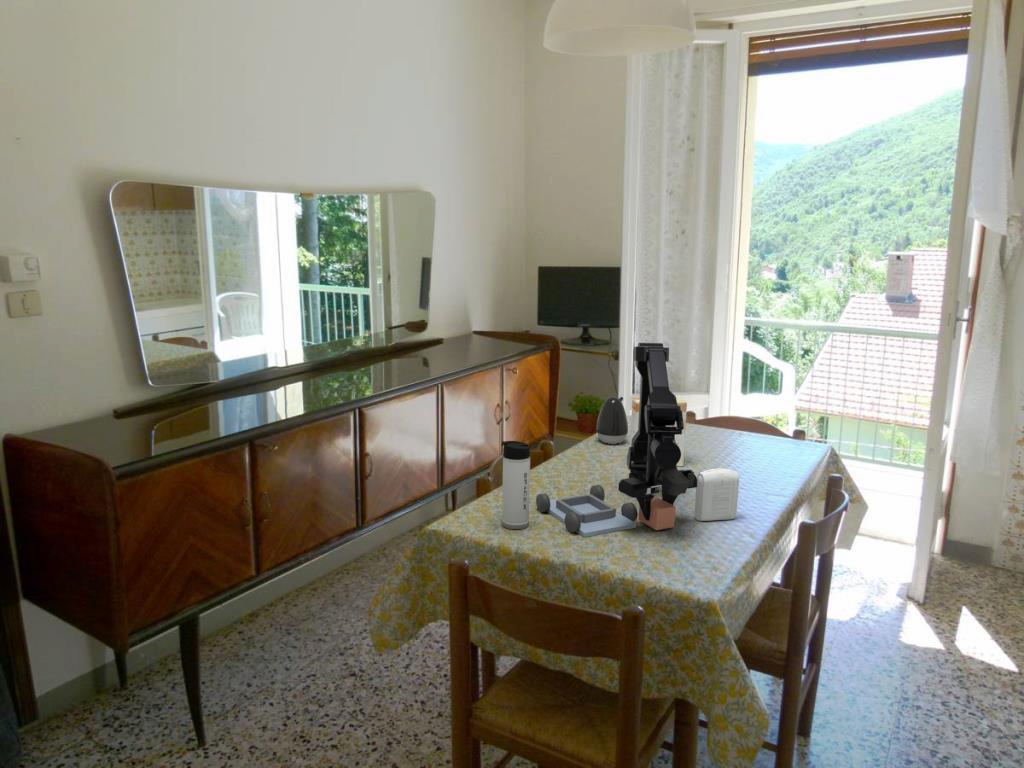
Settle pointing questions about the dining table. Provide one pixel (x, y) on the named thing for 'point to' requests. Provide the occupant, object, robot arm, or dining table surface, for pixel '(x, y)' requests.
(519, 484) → the travel mug
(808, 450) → the dining table surface
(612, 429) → the dark grey tapered dome
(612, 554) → the dining table surface
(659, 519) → the salmon pink brick
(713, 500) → the photo printer
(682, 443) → the coffeecake box
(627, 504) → the chassis
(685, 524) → the dining table surface
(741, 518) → the dining table surface
